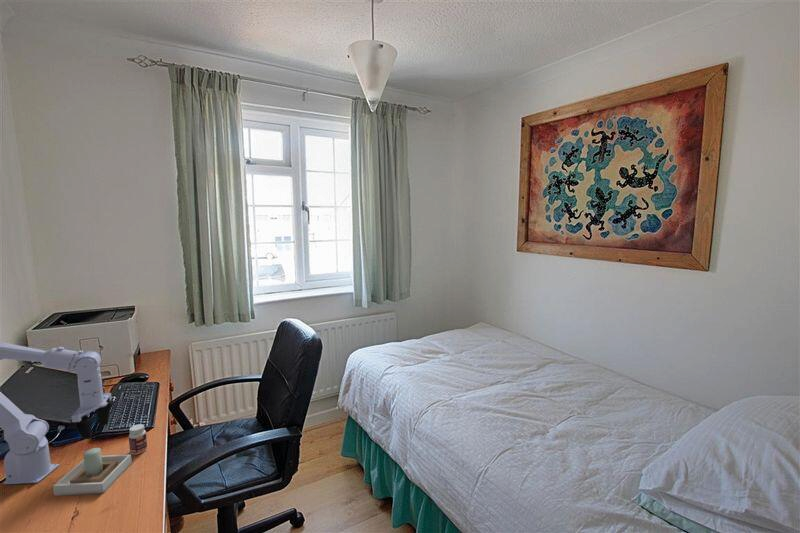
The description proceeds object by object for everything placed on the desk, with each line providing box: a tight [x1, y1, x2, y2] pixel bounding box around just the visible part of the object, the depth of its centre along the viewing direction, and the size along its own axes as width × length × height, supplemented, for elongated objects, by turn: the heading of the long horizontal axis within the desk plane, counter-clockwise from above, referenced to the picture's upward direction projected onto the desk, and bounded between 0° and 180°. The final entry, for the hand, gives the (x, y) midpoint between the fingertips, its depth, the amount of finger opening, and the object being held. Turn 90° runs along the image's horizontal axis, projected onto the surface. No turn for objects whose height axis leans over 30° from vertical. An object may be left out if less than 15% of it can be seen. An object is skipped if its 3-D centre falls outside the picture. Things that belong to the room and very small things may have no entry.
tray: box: [52, 453, 133, 497], centre depth 113 cm, size 13×13×3 cm
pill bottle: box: [128, 423, 148, 456], centre depth 125 cm, size 5×5×8 cm
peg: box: [82, 447, 103, 477], centre depth 112 cm, size 4×4×8 cm
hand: (95, 431), depth 120 cm, fingers open, 7 cm apart
